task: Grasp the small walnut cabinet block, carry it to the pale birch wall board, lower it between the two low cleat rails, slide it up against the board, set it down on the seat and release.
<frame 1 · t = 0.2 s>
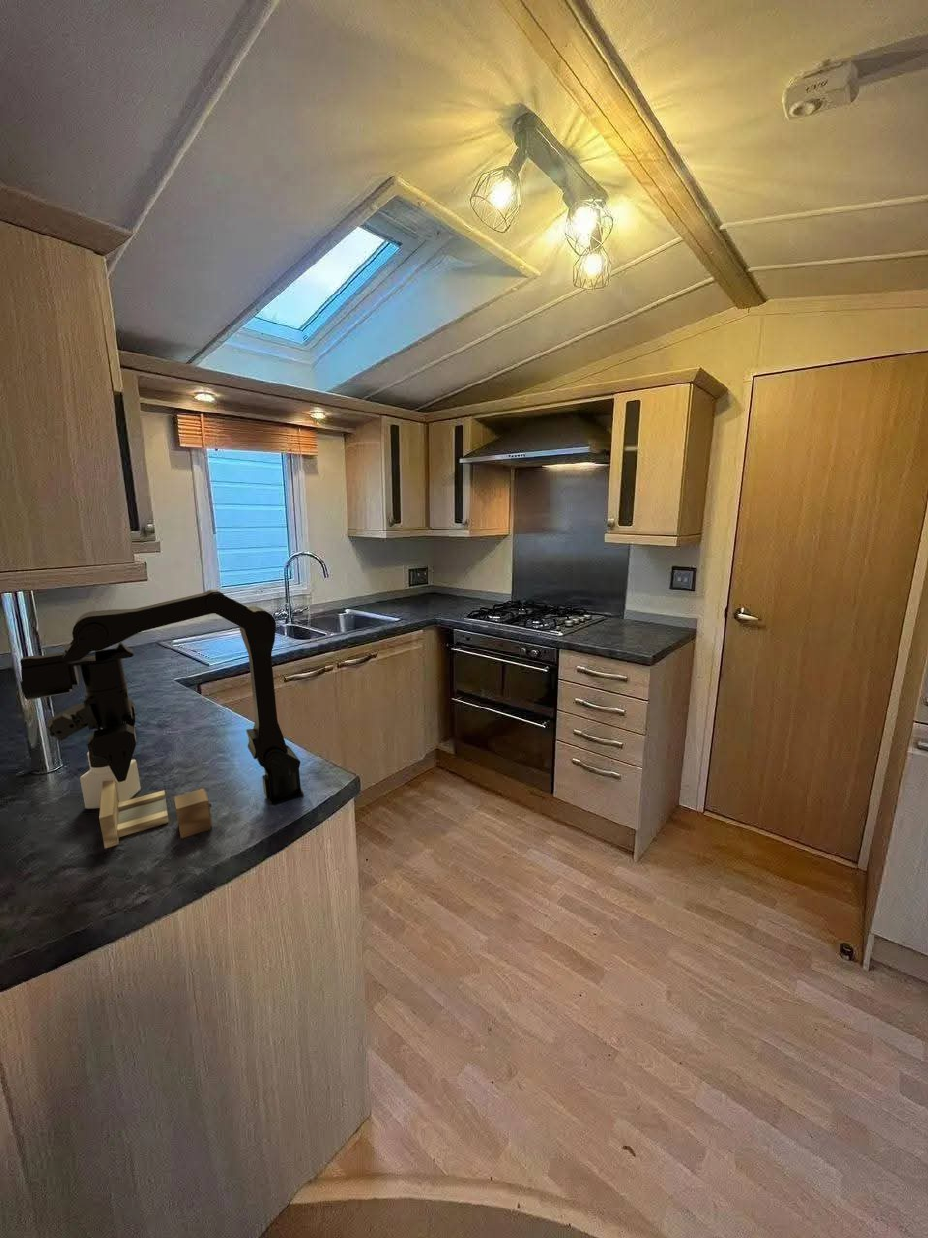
hand: (122, 770, 89), 14 cm above the worktop, fingers open, 9 cm apart
cleat board: (137, 817, 99), on the worktop
cabinet block: (194, 827, 95), on the worktop
medicine bottle: (114, 800, 105), on the worktop, touching cleat board
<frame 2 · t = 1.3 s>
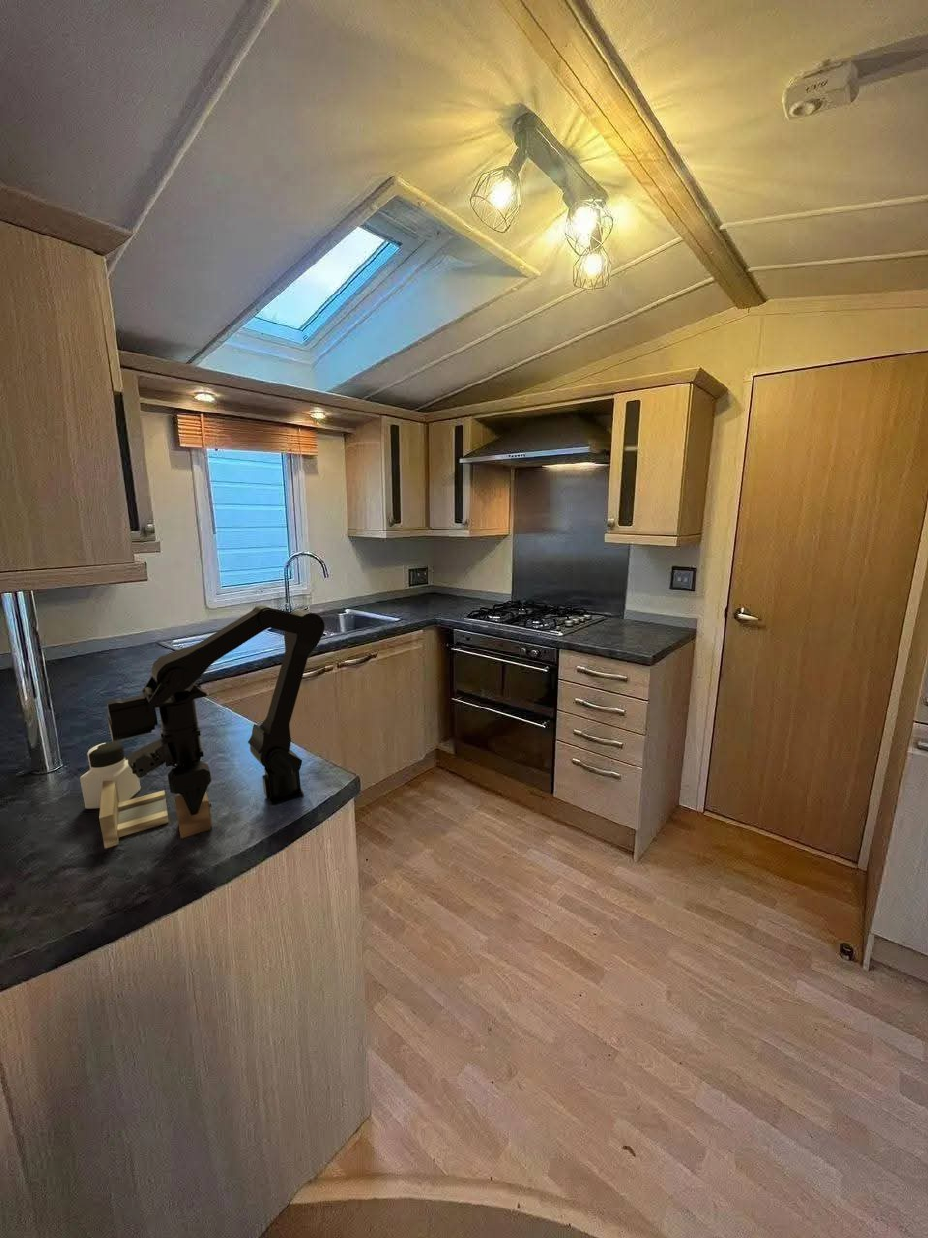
hand: (191, 802, 94), 5 cm above the worktop, fingers open, 9 cm apart
nothing on the worktop moved.
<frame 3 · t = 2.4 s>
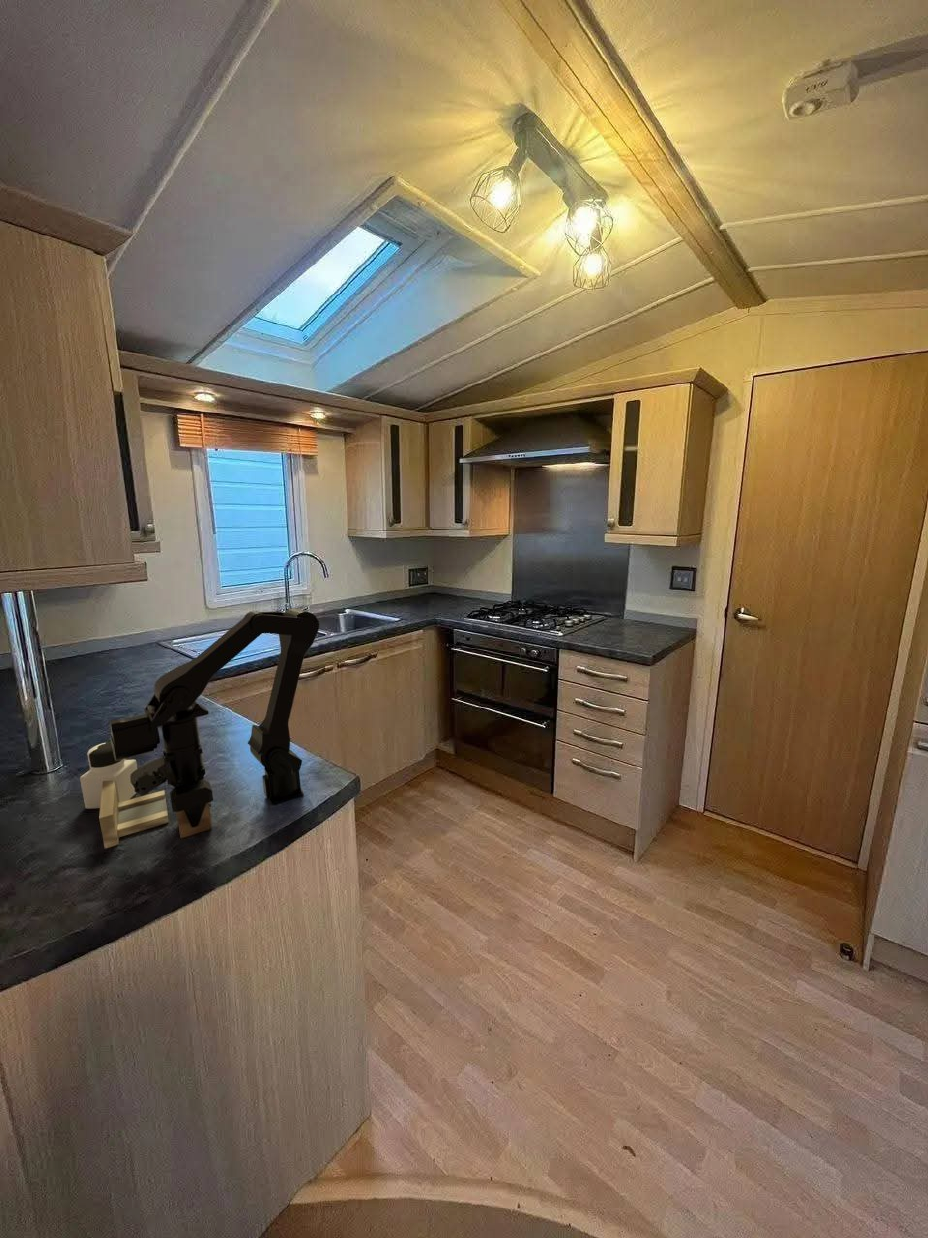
hand: (193, 819, 95), 2 cm above the worktop, fingers closed on cabinet block, 5 cm apart
cabinet block: (194, 826, 95), on the worktop, touching gripper
everything else where it was.
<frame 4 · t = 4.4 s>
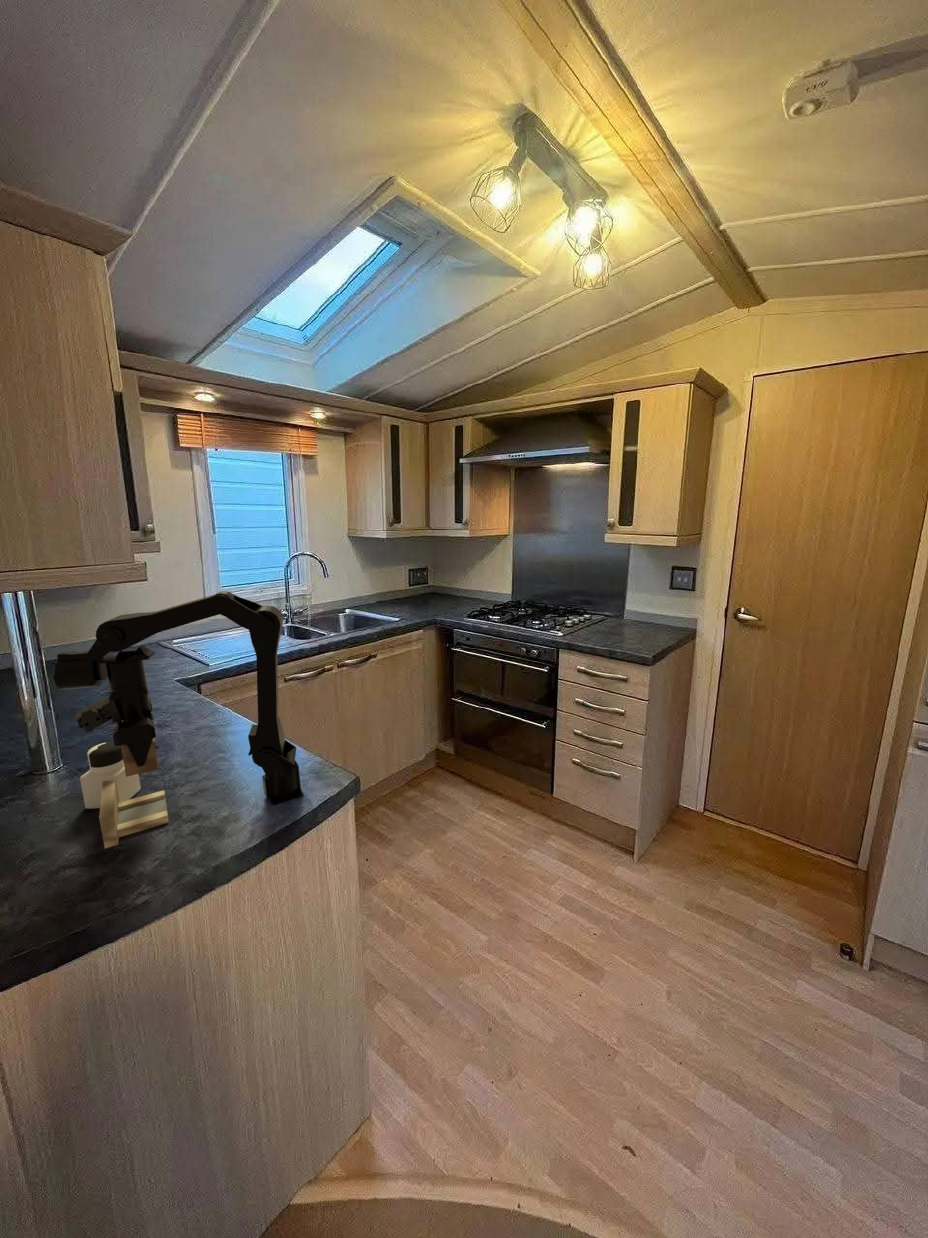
hand: (140, 760, 97), 12 cm above the worktop, fingers closed on cabinet block, 5 cm apart
cabinet block: (141, 767, 97), point 10 cm above the worktop, touching gripper
everything else where it was.
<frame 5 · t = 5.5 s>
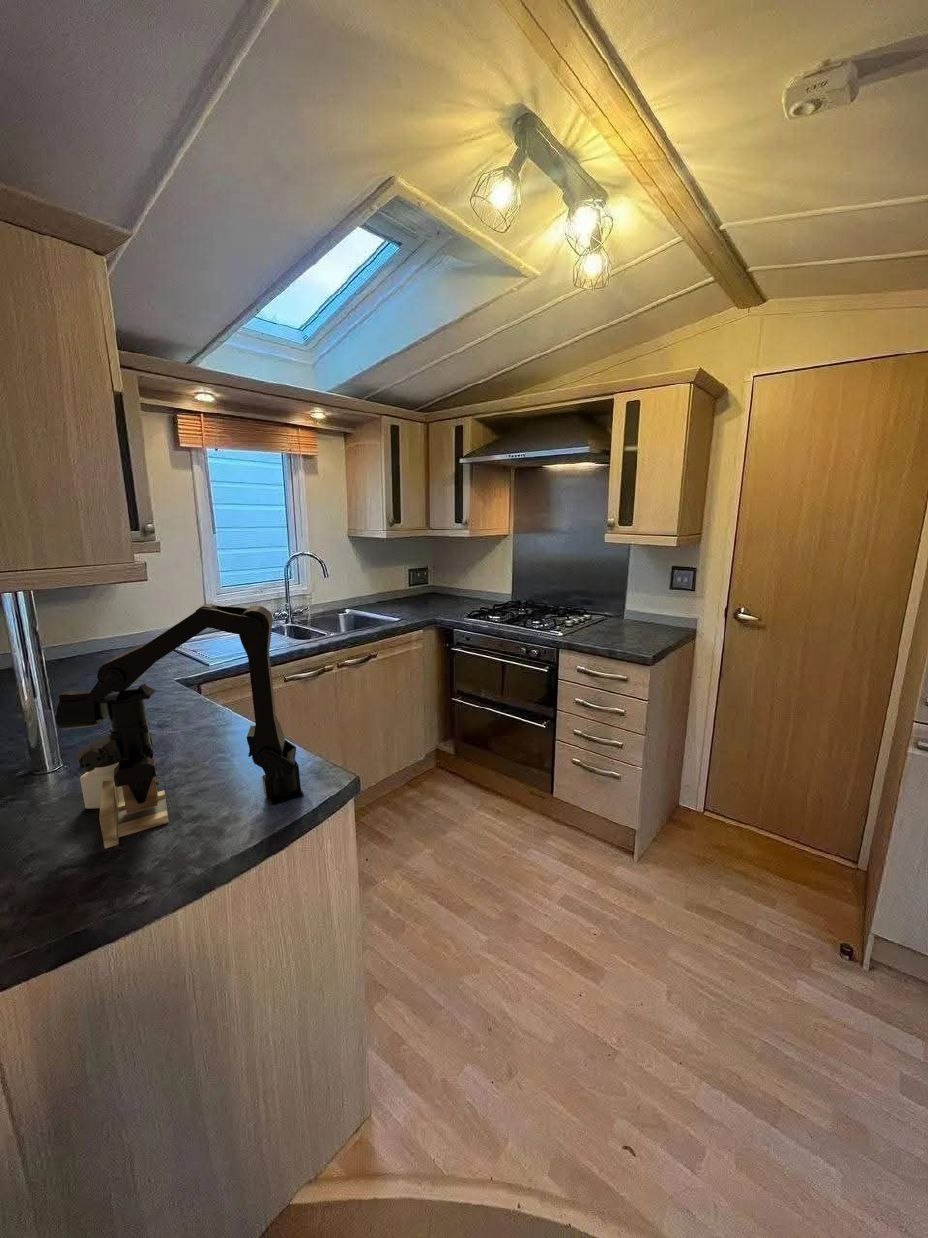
hand: (141, 796, 98), 4 cm above the worktop, fingers closed on cabinet block, 5 cm apart
cabinet block: (142, 803, 99), point 3 cm above the worktop, touching gripper
everything else where it was.
when the fingers open (3 cm above the worktop, at t = 6.5 s): cabinet block stays where it is, resting on cleat board.
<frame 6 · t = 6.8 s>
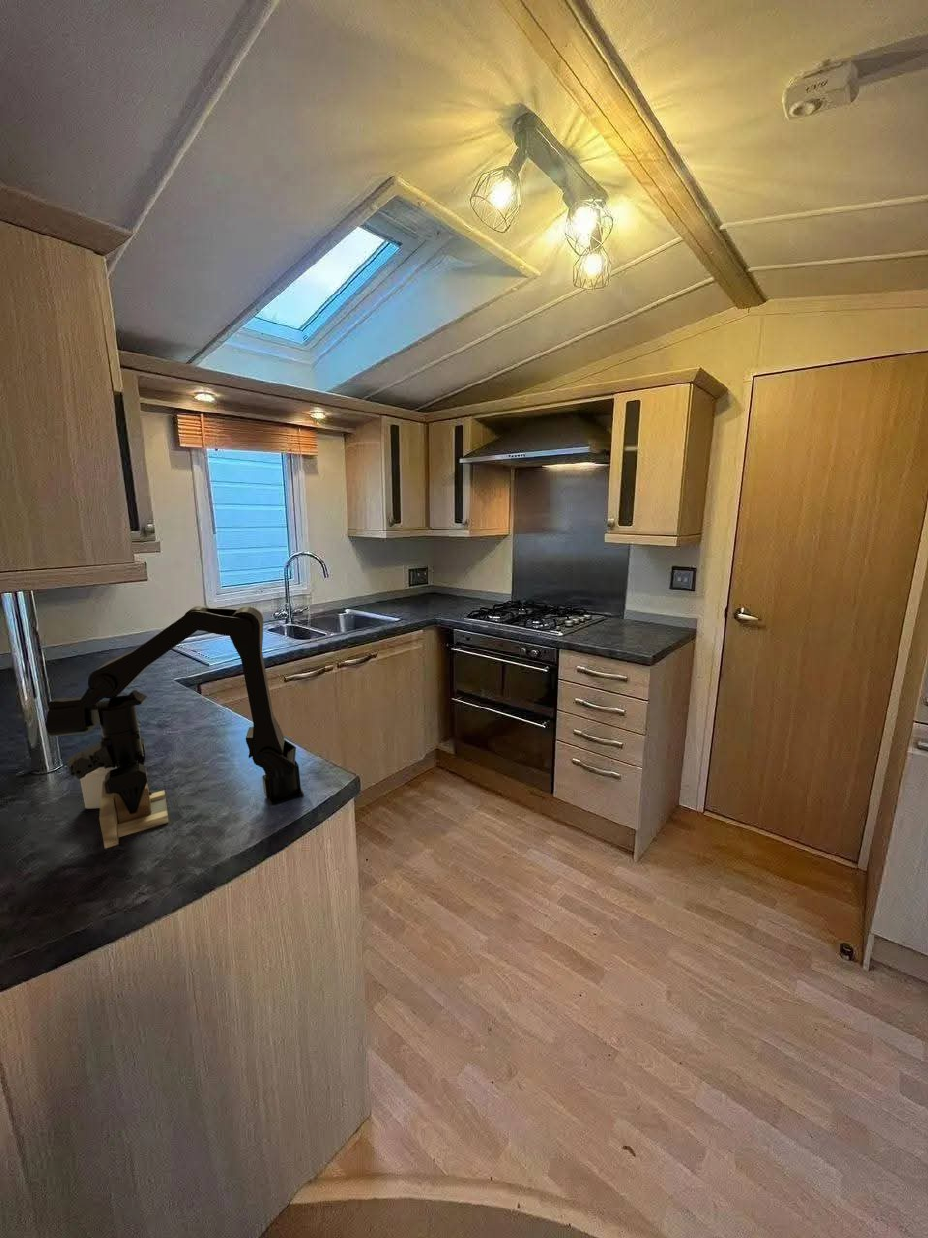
hand: (133, 803, 98), 3 cm above the worktop, fingers open, 8 cm apart
cabinet block: (134, 814, 98), point 1 cm above the worktop, touching cleat board
everything else where it was.
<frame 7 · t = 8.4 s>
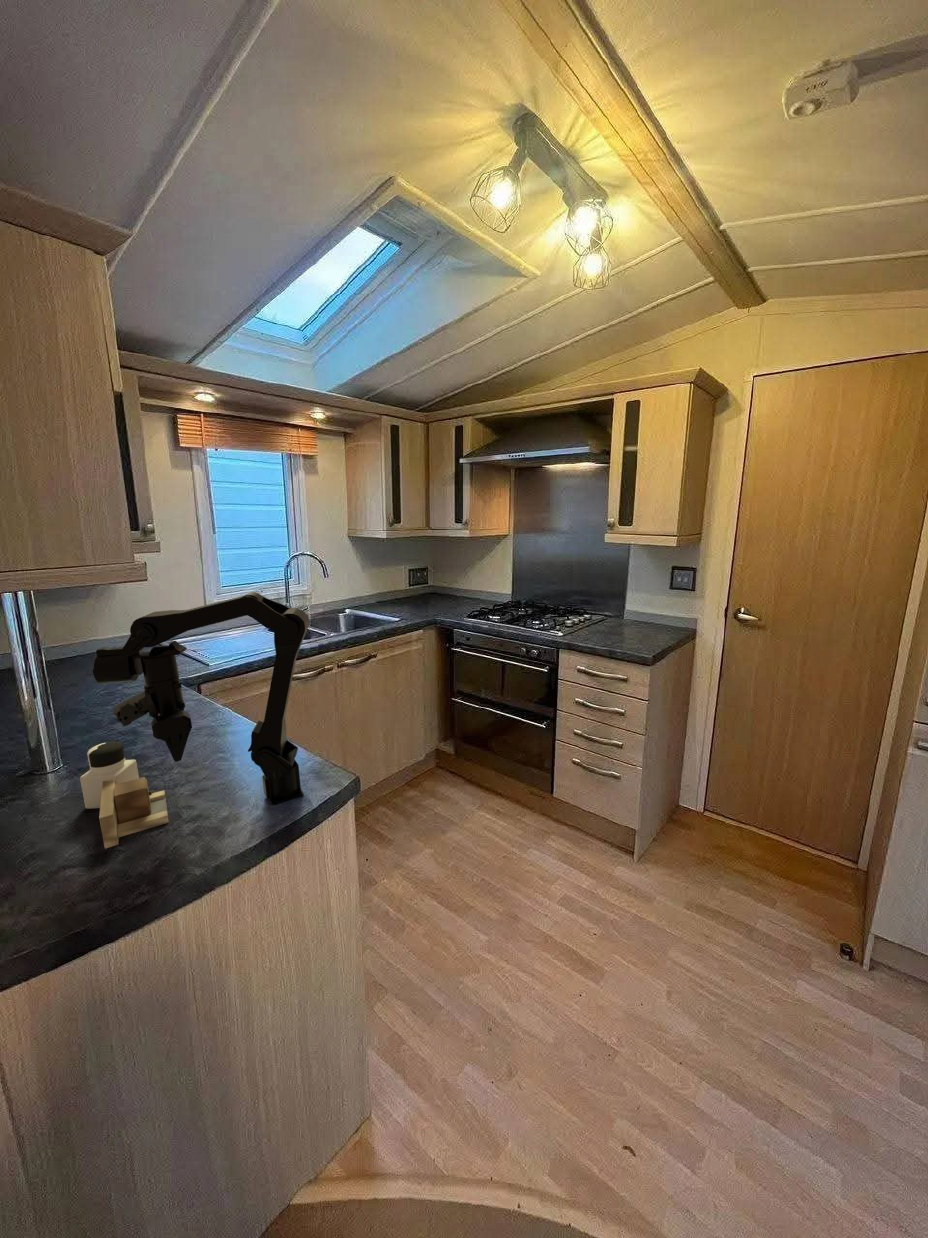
hand: (175, 752, 100), 11 cm above the worktop, fingers open, 9 cm apart
nothing on the worktop moved.
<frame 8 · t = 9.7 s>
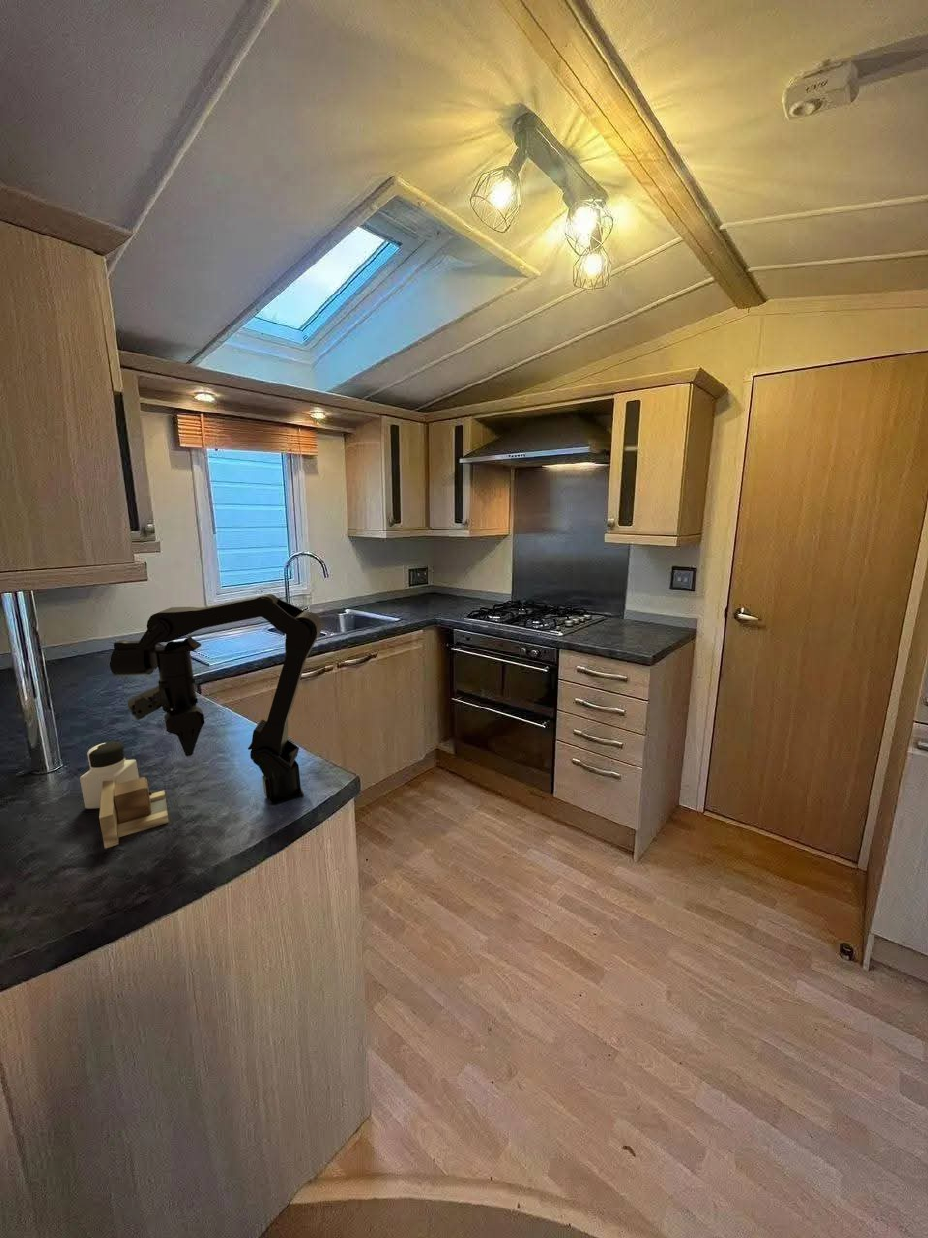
hand: (186, 747, 101), 12 cm above the worktop, fingers open, 9 cm apart
nothing on the worktop moved.
at the end: cabinet block 1.1 cm off-centre on the cleat board, point 0.8 cm above the cleat board's base; cabinet block tilted 0°; the gripper is holding nothing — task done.
